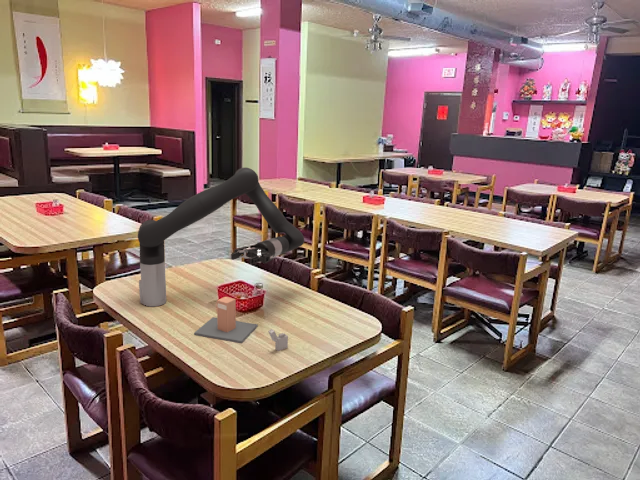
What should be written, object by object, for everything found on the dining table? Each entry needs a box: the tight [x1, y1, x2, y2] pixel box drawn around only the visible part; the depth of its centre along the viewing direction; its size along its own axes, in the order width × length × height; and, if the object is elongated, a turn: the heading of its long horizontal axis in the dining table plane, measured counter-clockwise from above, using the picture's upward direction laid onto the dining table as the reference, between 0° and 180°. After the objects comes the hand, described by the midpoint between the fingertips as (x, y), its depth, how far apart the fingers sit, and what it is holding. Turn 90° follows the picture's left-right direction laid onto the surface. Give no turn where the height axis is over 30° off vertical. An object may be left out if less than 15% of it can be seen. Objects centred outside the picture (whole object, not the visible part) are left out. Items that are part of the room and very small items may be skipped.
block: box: [216, 296, 237, 332], centre depth 171 cm, size 4×5×11 cm
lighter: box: [267, 328, 289, 352], centre depth 160 cm, size 7×2×8 cm, turn 132°
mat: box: [194, 316, 259, 344], centre depth 173 cm, size 18×14×1 cm
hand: (241, 259), depth 173 cm, fingers open, 8 cm apart
